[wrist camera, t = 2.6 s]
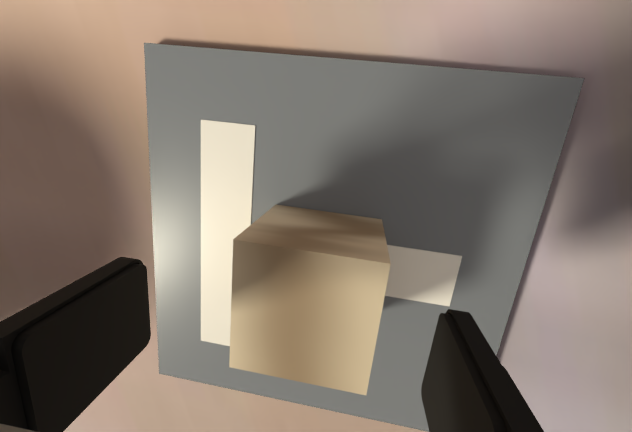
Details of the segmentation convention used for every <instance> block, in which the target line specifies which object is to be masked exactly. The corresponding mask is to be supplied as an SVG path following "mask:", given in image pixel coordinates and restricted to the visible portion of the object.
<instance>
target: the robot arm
mask: <svg viewBox="0 0 632 432" xmlns="http://www.w3.org/2000/svg"><path fill="white" fill-rule="evenodd" d="M150 336H151V332H150V316H149V299H148V283H147V269H146V266H145V265H143V263H142V261H140V260H138V259H132V258H126V257H120V258H118V259H116V260H114V261H112V262H110V263H108V264H107V265H105V266H103V267H101V268H99V269H97V270H95V271H94V272H92V273H90V274H88V275H86V276H84V277H83V278H81V279H79V280H77V281H75V282H73V283H71V284H70V285H68V286H66V287H64V288H62V289H60V290H58V291H57V292H55V293H53V294H51V295H49V296H47V297H46V298H44V299H42V300H40V301H38V302H36V303H34V304H33V305H31V306H29V307H27V308H25V309H23V310H21V311H20V312H18V313H16V314H14V315H12V316H10V317H9V318H7V319H5V320H3V321H1V322H0V432H63V431H64V430H65V429H66V428H67V427H68V426H69V425H70V424H71V423H72V422H73V421H74V420H75V419H76V418H77V417H78V416H79V415H80V414H81V413H82V412H83V411H84V410H85V409H86V408H87V407H88V406H89V405H90V403H91V402H92V401H93V400H94V399H95V398H96V397H97V396H98V395H99V394H100V393H101V392H102V391H103V390H104V389H105V388H106V387H107V386H108V385H109V384H110V383H111V382H112V381H113V380H114V379H115V378H116V377H117V376H118V375H119V374H120V373H121V372H122V371H123V370H124V369H125V368H126V367H127V366H128V365H129V363H130V362H131V361H132V360H133V359H134V358H135V357H136V356H137V355H138V354H139V353H140V352H141V351H142V350H143V349H144V348H145V347H146V346H147V344H148V343H149V340H150ZM421 396H422V402H423V406H424V410H425V415H426V419H427V423H428V428H429V432H544V431H543V429H542V428H541V426H540V424H539V423H538V421H537V420H536V418H535V416H534V415H533V413H532V411H531V410H530V408H529V406H528V405H527V403H526V402H525V400H524V398H523V397H522V395H521V393H520V392H519V390H518V388H517V387H516V385H515V383H514V382H513V380H512V379H511V377H510V375H509V374H508V372H507V371H506V369H505V368H504V367H503V366H502V365H501V363H500V362H499V360H498V358H497V357H496V355H495V353H494V352H493V350H492V348H491V347H490V345H489V343H488V342H487V340H486V338H485V337H484V335H483V333H482V332H481V330H480V329H479V327H478V325H477V324H476V322H475V320H474V319H473V317H472V315H471V314H470V313H469V312H464V311H458V310H452V309H448V310H447V311H446V313H440V315H439V318H438V322H437V326H436V330H435V334H434V338H433V342H432V346H431V350H430V354H429V358H428V362H427V366H426V370H425V374H424V378H423V382H422V387H421Z"/></svg>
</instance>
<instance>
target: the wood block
mask: <svg viewBox="0 0 632 432" xmlns="http://www.w3.org/2000/svg"><path fill="white" fill-rule="evenodd" d="M390 265H391V263H390V258H389V253H388V248H387V242H386V237H385V232H384V227H383V222H382V219H376V218H369V217H362V216H355V215H348V214H341V213H333V212H326V211H319V210H312V209H305V208H298V207H290V206H283V205H275V206H273V207H272V208H271V209H270V210H268V211H267V212H266V213H265V214H264V215H262V216H261V217H260V218H259V219H257V220H256V221H255V222H254V223H253V224H251V225H250V226H249V227H248V228H246V229H245V230H244V231H243V232H242V233H240V234H239V235H238V236H237V237H235V238H234V239H233V261H232V294H231V326H230V359H229V367H231V368H236V369H241V370H245V371H250V372H255V373H260V374H265V375H270V376H274V377H279V378H284V379H289V380H294V381H299V382H303V383H308V384H313V385H318V386H323V387H328V388H332V389H337V390H342V391H347V392H352V393H357V394H361V395H366V394H367V389H368V384H369V378H370V373H371V367H372V362H373V357H374V351H375V346H376V341H377V335H378V330H379V324H380V319H381V314H382V308H383V303H384V297H385V292H386V287H387V281H388V276H389V270H390Z"/></svg>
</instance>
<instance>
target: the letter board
mask: <svg viewBox="0 0 632 432" xmlns="http://www.w3.org/2000/svg"><path fill="white" fill-rule="evenodd" d="M144 52H145V74H146V96H147V118H148V140H149V161H150V183H151V205H152V227H153V248H154V270H155V292H156V314H157V336H158V357H159V374H163V375H168V376H173V377H177V378H182V379H187V380H191V381H196V382H201V383H205V384H210V385H215V386H219V387H224V388H228V389H233V390H238V391H242V392H247V393H252V394H256V395H261V396H266V397H270V398H275V399H279V400H284V401H289V402H293V403H298V404H303V405H307V406H312V407H317V408H321V409H326V410H330V411H335V412H340V413H344V414H349V415H354V416H358V417H363V418H368V419H372V420H377V421H382V422H386V423H391V424H395V425H400V426H405V427H409V428H414V429H419V430H423V431H428V432H429V428H428V423H427V419H426V415H425V410H424V406H423V402H422V396H421V387H422V382H423V378H424V374H425V370H426V366H427V362H428V358H429V354H430V350H431V346H432V342H433V338H434V334H435V330H436V326H437V322H438V318H439V315H440V313H446V311H447V310H448V309H452V310H458V311H464V312H469V313H470V314H471V315H472V317H473V319H474V320H475V322H476V324H477V325H478V327H479V329H480V330H481V332H482V333H483V335H484V337H485V338H486V340H487V342H488V343H489V345H490V347H491V348H492V350H493V352H494V353H495V355H497V352H498V349H499V346H500V343H501V340H502V337H503V333H504V330H505V327H506V324H507V321H508V318H509V314H510V311H511V308H512V305H513V302H514V299H515V296H516V292H517V289H518V286H519V283H520V280H521V277H522V274H523V270H524V267H525V264H526V261H527V258H528V255H529V251H530V248H531V245H532V242H533V239H534V236H535V233H536V229H537V226H538V223H539V220H540V217H541V214H542V211H543V207H544V204H545V201H546V198H547V195H548V192H549V189H550V185H551V182H552V179H553V176H554V173H555V170H556V166H557V163H558V160H559V157H560V154H561V151H562V148H563V144H564V141H565V138H566V135H567V132H568V129H569V126H570V122H571V119H572V116H573V113H574V110H575V107H576V103H577V100H578V97H579V94H580V91H581V88H582V85H583V81H584V78H575V77H563V76H550V75H538V74H525V73H513V72H501V71H488V70H476V69H463V68H451V67H438V66H426V65H414V64H401V63H389V62H376V61H364V60H351V59H339V58H327V57H314V56H302V55H289V54H277V53H264V52H252V51H240V50H227V49H215V48H202V47H190V46H177V45H165V44H153V43H144ZM275 205H283V206H290V207H298V208H305V209H312V210H319V211H326V212H333V213H341V214H348V215H355V216H362V217H369V218H376V219H382V222H383V227H384V232H385V237H386V242H387V248H388V253H389V258H390V263H391V265H390V270H389V276H388V281H387V287H386V292H385V297H384V303H383V308H382V314H381V319H380V324H379V330H378V335H377V341H376V346H375V351H374V357H373V362H372V367H371V373H370V378H369V384H368V389H367V394H366V395H361V394H357V393H352V392H347V391H342V390H337V389H332V388H328V387H323V386H318V385H313V384H308V383H303V382H299V381H294V380H289V379H284V378H279V377H274V376H270V375H265V374H260V373H255V372H250V371H245V370H241V369H236V368H231V367H229V359H230V326H231V294H232V261H233V239H234V238H235V237H237V236H238V235H239V234H240V233H242V232H243V231H244V230H245V229H246V228H248V227H249V226H250V225H251V224H253V223H254V222H255V221H256V220H257V219H259V218H260V217H261V216H262V215H264V214H265V213H266V212H267V211H268V210H270V209H271V208H272V207H273V206H275Z"/></svg>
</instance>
